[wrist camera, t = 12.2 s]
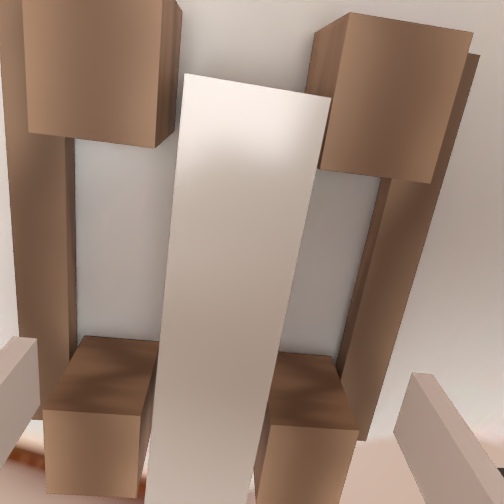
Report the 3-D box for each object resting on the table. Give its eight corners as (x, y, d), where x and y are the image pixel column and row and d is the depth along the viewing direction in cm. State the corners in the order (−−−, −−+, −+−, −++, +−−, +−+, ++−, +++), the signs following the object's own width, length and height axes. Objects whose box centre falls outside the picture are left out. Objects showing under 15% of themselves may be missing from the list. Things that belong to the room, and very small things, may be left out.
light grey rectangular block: (291, 92, 24) (331, 97, 15) (239, 383, 31) (244, 512, 22) (201, 77, 23) (184, 73, 14) (169, 377, 30) (144, 506, 21)
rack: (465, 56, 24) (556, 46, 17) (359, 425, 33) (392, 510, 26) (9, -16, 21) (-87, -61, 15) (34, 403, 30) (-19, 490, 24)
